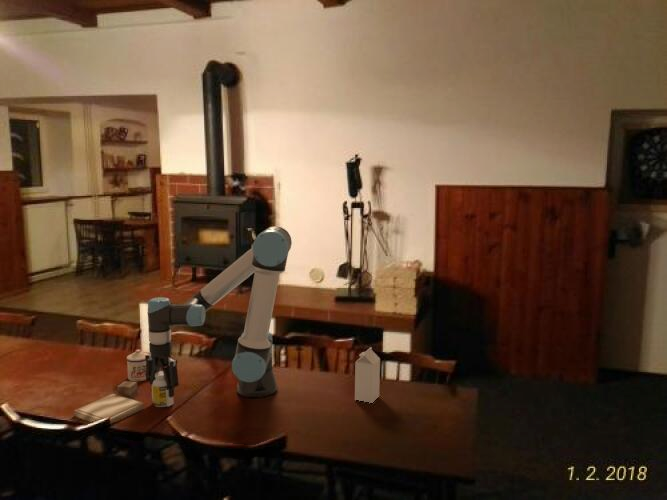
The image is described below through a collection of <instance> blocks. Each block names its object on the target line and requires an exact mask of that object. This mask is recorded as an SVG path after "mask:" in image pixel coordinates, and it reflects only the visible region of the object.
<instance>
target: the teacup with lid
mask: <svg viewBox="0 0 667 500" xmlns="http://www.w3.org/2000/svg"><path fill="white" fill-rule="evenodd" d="M148 354H149V353H148V352H144V351H142V350H141V349H135V352H133V353H131V354H128V355H127V356H126V359H125V360H126V363H127V365H126V366H127V379H128V381H130V382H137V383H138V382H143V381H146V359H145V356H146V355H148ZM149 377H150V376H149Z"/></svg>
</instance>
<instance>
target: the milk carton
mask: <svg viewBox="0 0 667 500" xmlns="http://www.w3.org/2000/svg"><path fill="white" fill-rule="evenodd" d="M358 355H359V359H357V360H356V361H355V363H354V365H355V368H354V369H355V370H354V401H356V400H359V401H358V402H360V401H364V402H363V403H365V402H369V403H368V404H370V403H373V402H374V401H375V400H376V399H377V398H378V397H380V382H381V381H380V380H381V379H380V378H381V377H380V376H381V375H380V374H381V358H380V357H379V355H377V353H375V351H373V349H372V347H369V348H368V349H367V350H366V351H363V352H361V353H359V354H358ZM378 399H379V398H378ZM376 401H377V400H376ZM376 401H375V402H376ZM375 402H374V403H375ZM374 403H373V404H374Z"/></svg>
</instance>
